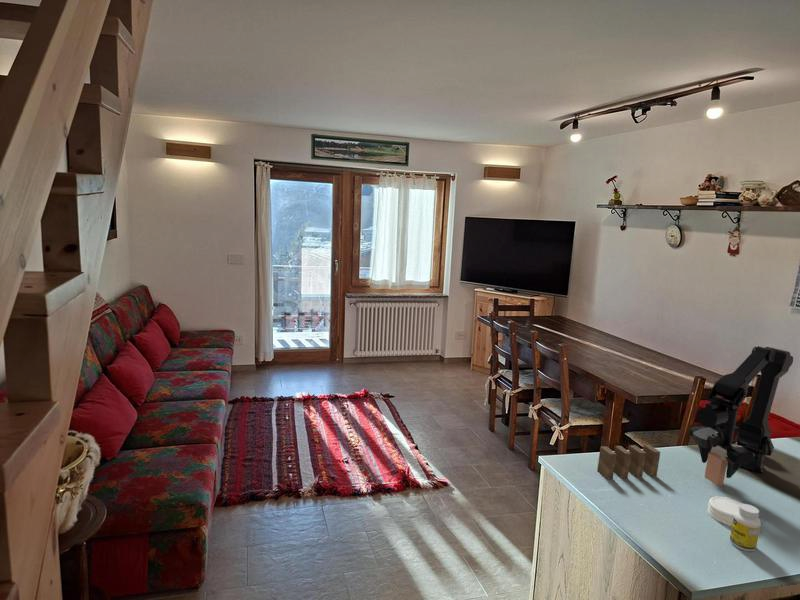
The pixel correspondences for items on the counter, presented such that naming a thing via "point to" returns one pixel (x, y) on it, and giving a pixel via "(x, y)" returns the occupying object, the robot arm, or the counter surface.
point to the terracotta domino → (715, 468)
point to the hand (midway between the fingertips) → (715, 470)
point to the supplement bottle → (745, 528)
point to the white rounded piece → (723, 509)
